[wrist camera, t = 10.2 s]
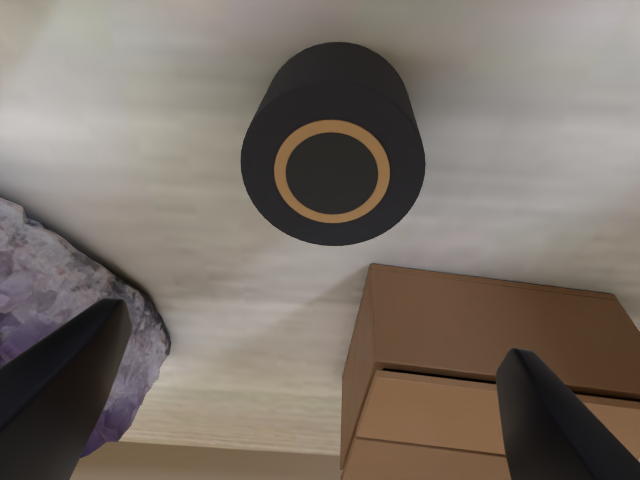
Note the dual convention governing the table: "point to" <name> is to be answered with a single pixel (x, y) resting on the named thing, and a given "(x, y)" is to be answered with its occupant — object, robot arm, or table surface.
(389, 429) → the flap
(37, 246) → the geode
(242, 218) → the table surface
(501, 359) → the carton
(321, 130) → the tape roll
